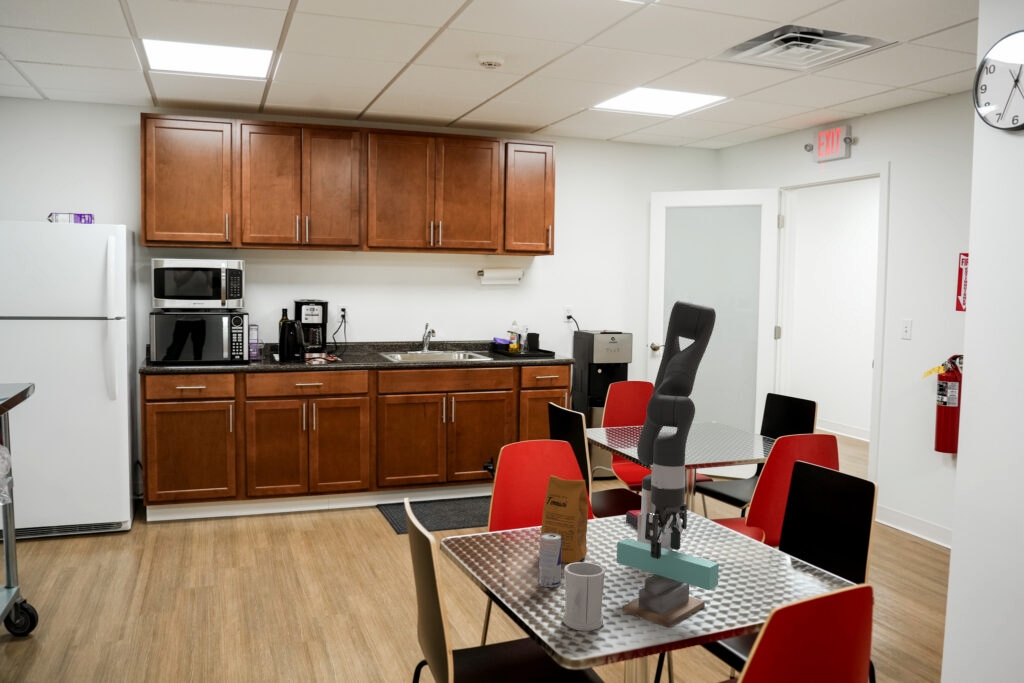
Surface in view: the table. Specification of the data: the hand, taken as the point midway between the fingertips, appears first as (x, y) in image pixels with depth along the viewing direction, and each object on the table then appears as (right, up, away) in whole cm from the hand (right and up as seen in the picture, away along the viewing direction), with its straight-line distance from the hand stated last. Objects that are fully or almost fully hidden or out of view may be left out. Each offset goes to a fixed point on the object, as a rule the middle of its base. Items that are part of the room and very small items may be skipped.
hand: (665, 553), depth 175 cm
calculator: (+9, -10, +65) cm, 66 cm away
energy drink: (-26, -12, +14) cm, 32 cm away
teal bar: (0, -5, 0) cm, 5 cm away
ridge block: (0, -13, +1) cm, 13 cm away
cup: (-20, -13, -9) cm, 25 cm away
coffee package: (-21, -11, +34) cm, 42 cm away
